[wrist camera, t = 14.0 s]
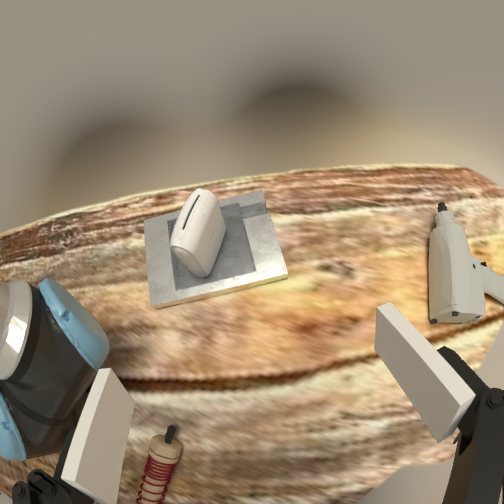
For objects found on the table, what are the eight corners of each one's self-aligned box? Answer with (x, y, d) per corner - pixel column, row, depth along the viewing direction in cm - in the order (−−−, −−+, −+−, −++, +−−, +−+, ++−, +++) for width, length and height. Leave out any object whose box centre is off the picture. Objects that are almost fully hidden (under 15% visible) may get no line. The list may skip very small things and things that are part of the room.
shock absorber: (150, 552, 22) (188, 435, 32) (124, 545, 21) (156, 426, 31) (150, 538, 26) (186, 425, 37) (126, 532, 25) (157, 416, 36)
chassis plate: (156, 309, 44) (150, 305, 41) (149, 227, 50) (144, 220, 48) (287, 278, 44) (287, 273, 42) (262, 197, 51) (261, 189, 49)
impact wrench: (504, 222, 43) (439, 187, 40) (520, 320, 34) (458, 314, 31) (481, 236, 50) (414, 208, 48) (493, 328, 41) (424, 324, 39)
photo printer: (209, 281, 45) (189, 250, 34) (186, 274, 46) (159, 242, 34) (230, 227, 49) (217, 184, 37) (207, 221, 49) (190, 179, 38)
